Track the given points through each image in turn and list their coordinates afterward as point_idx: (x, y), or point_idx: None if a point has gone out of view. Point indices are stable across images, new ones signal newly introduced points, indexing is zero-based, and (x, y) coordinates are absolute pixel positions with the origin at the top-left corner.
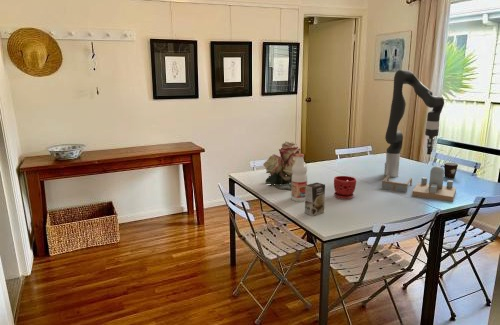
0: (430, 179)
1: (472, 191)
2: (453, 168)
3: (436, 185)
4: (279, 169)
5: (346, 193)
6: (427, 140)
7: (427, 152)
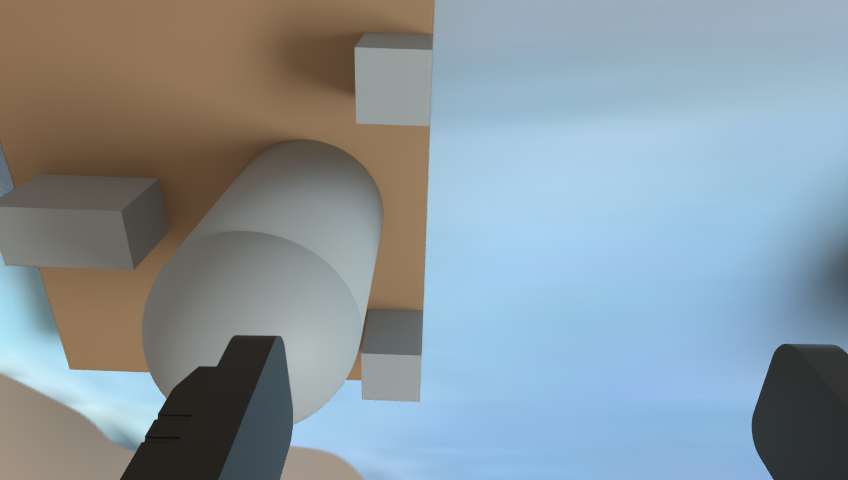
0: (229, 192)
1: (506, 453)
2: None
3: (85, 263)
4: None
5: None
6: None
7: (214, 387)
